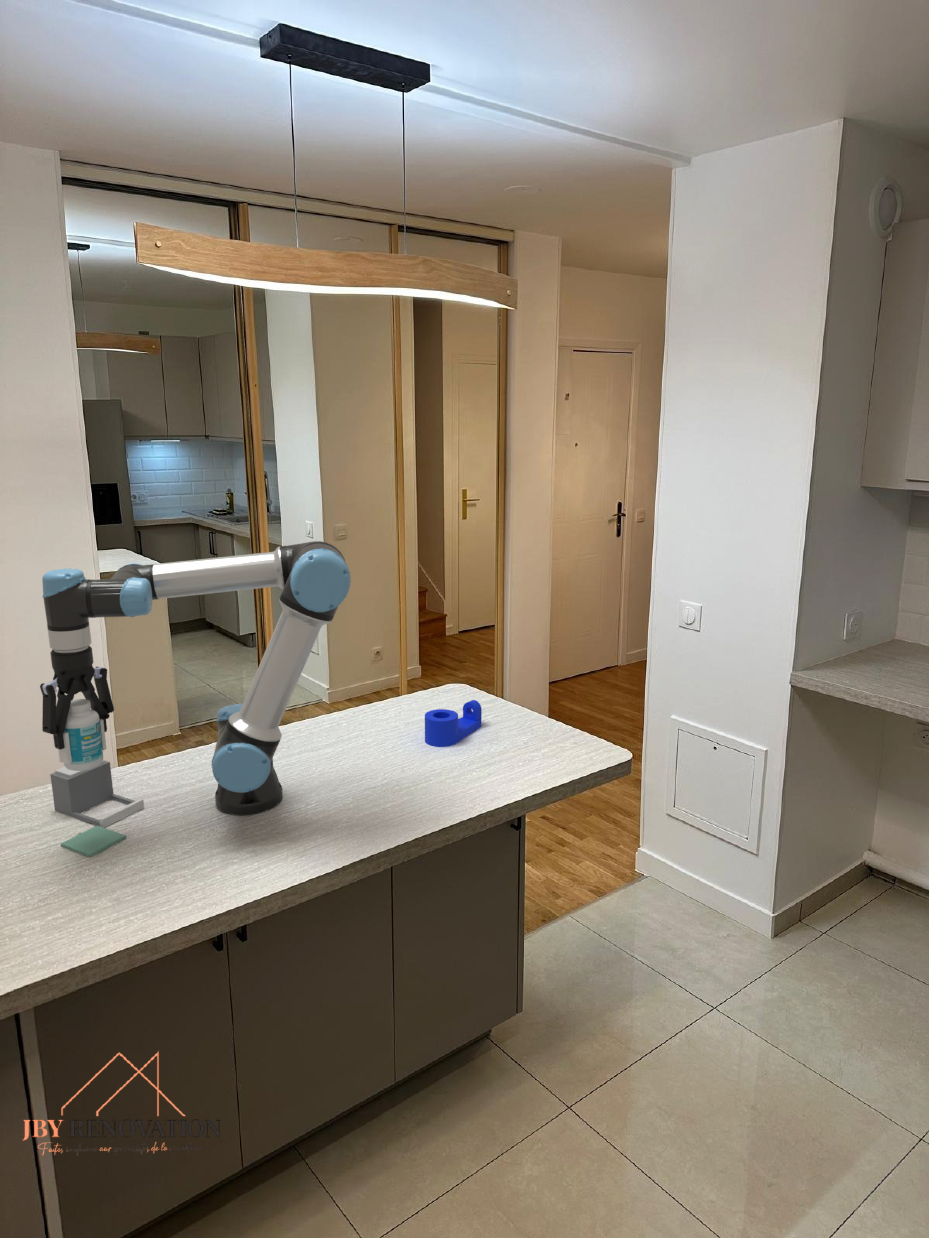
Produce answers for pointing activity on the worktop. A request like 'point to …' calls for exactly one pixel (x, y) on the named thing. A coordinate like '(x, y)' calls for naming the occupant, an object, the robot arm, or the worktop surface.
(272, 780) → the robot arm
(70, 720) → the pill bottle
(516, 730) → the worktop surface
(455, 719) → the bracket
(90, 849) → the mat
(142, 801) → the grey open frame
